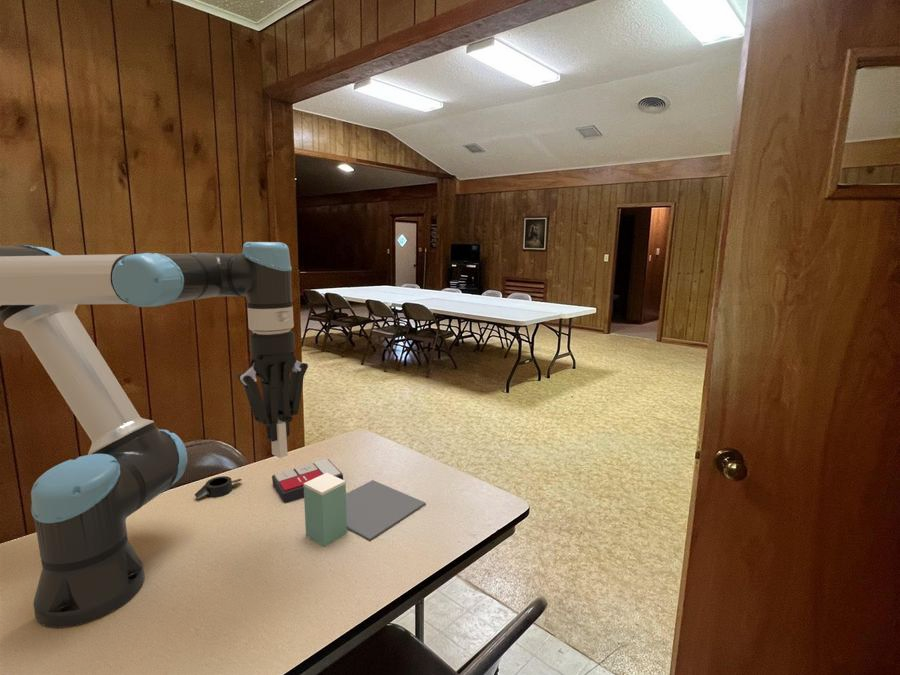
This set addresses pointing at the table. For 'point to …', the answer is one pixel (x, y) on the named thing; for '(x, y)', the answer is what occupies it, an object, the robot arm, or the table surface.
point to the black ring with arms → (216, 487)
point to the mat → (377, 509)
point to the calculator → (301, 478)
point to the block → (325, 508)
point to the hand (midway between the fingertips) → (279, 454)
